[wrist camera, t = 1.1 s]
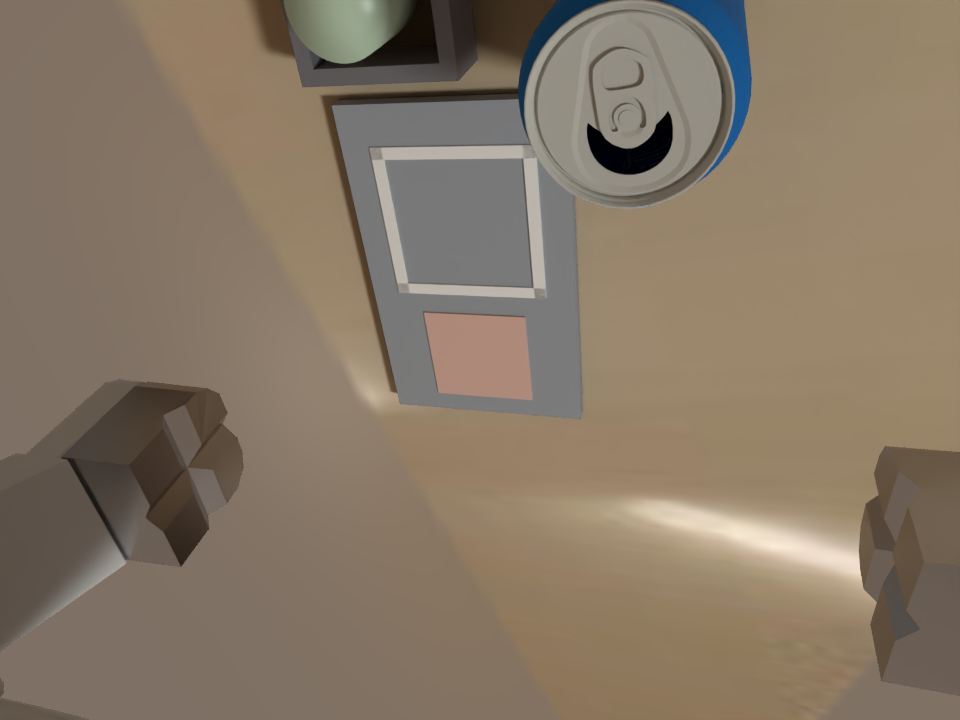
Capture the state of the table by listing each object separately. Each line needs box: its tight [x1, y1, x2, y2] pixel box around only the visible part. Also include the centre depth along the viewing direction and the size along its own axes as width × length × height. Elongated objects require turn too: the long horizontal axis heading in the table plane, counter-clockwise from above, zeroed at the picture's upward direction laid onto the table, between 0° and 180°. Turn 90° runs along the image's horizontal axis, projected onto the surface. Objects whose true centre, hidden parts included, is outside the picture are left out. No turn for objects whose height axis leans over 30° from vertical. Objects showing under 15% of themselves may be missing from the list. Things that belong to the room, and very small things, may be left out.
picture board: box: [332, 94, 583, 419], centre depth 38 cm, size 18×11×1 cm, turn 7°
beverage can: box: [518, 0, 752, 209], centre depth 24 cm, size 6×6×12 cm
